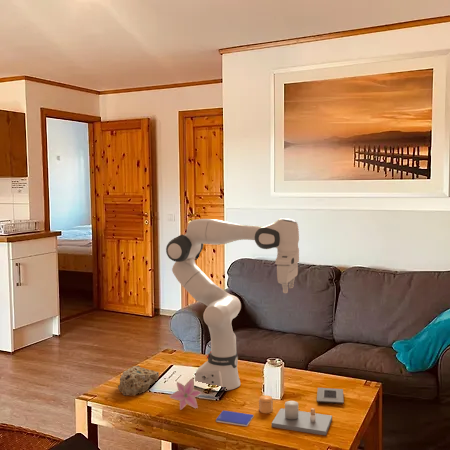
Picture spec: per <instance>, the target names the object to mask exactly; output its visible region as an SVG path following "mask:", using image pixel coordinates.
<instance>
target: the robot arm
mask: <svg viewBox="0 0 450 450" xmlns="http://www.w3.org/2000/svg"><path fill="white" fill-rule="evenodd" d="M243 240H248V241H254V242H255V243H256V245H257V247H259V248H260V249H263V250H271V249H274V248H275V249H277V253H276V254H277V255H276V258H275V265H277V266H276V279H277V283H278V284H281V287H282V293H283V294H288V293H289V289H293V288H294V284H295V280H296V279H295V278H296V277H297V276H298V274H299V266H298V264H299V262H300V248H299V241H300V231H299V224H298V222H297V221H296V220H295V219H293V218H288V217H280V218H278V219H277V220H276V221H274V222H272V223H270V224H267V225H263V226H261V225H248V224H247V225H246V224H239V223H234V222H230V221H225V220H222V219H212V218H199V219H192V220H191V221H189V223H188V225H187V226H186V233H185V234H180V235H178V236H176V237H174V238H173V239H170V241H169V242H168V243H167V245H166V248H165V253H166V255H167V257H168V259H170V260H172V261H173V262H174V263H173V265H172V268H171V271H172V274H173V275H174V277H175V278H176V280H177V281H178V282H179V284H180V285H181V286H182V287H183V289H184V290H186V292H187V293H188V294H189V295H190V296H191V297H192V298H193V299H194V300H195V301H196V302H199V303H201V304H204V305H205V306H206V308H205V310H204V312H203V317H202V318H203V321H204V323H205V324H206V325H207V327H208V331H209V334H210V335H209V336H210V344H211V345H210V347H211V350H210V351H209V353H208V354H207V355H206V358H205V359H206V360H207V361H205V362H204V363H203V364H202V365H200V366H199V367H198V368H197V369H196V371H195V376H194V377H195V381H198V382H202V383H206V384H210V385H217V386H221V387H226V389H227V390H226V391H231V390H234V389H237V388H239V387H240V386H241V380H240V377H239V372H238V371H239V370H238V365H239V364H238V361H239V360H238V359H239V357H238V352H237V336H236V334H235V332H234V331H233V326H232V321H233V319H235V318H236V317H237V316H239V315H238V314H239V313H240V311H241V309H242V303H241V301H240V299H239V297H237V296H235V295H233V294H230V293H229V292H227V291H226V290H224V289H223V288H221V287H220V286H219V285H218V284H216V283H214V281H213V280H212V279H211V278H209V276H208V275H207V274H205V272H204V271H203V270H202V269H201V268H200V267H199V266H198V265H197V263H196V261H197V260H198V259H199V257H200V254H201V252H202V251H203V248H204V244H206V245H213V246H214V245H215V246H216V245H218V246H220V245H226V244H230V243H234V242H236V241H243Z"/></svg>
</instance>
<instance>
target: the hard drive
mask: <svg viewBox="0 0 450 450" xmlns="http://www.w3.org/2000/svg"><path fill="white" fill-rule="evenodd" d="M253 418H254V414H252V413H251V414H250V413H243V412H237V411H229V410H222V411H221V412H220V414H219V415H218V416H217V417H216V419H215V422H216V423H223V424H229V425H235V426H242V427H248V426H249V424H250V423H251V421H252V420H253Z"/></svg>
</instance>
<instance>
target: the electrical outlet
mask: <svg viewBox="0 0 450 450" xmlns="http://www.w3.org/2000/svg"><path fill="white" fill-rule="evenodd" d="M316 392H317V393H316V402H317V403H323V404H325V403H326V404H327V403H328V404H344V389H343V388H329V387H327V388H326V387H317V391H316Z"/></svg>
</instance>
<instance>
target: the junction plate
mask: <svg viewBox="0 0 450 450" xmlns="http://www.w3.org/2000/svg"><path fill="white" fill-rule="evenodd" d="M332 421H333V415H330V414H322V413H316V408H313V407H311V408H310V411H308V412H307V411H302V410H299V402H298V401H295V400H288V401H285V403H284V408H279V410H278V412H277V413H276V416H275V417H274V419H273V420H272V422H271V428H277V429H281V430H283V429H284V430H290V431H296V432H302V433H307V434H314V435H319V436H321V435H322V436H327V434H328V431H329V428H330V426H331V424H332Z"/></svg>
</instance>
